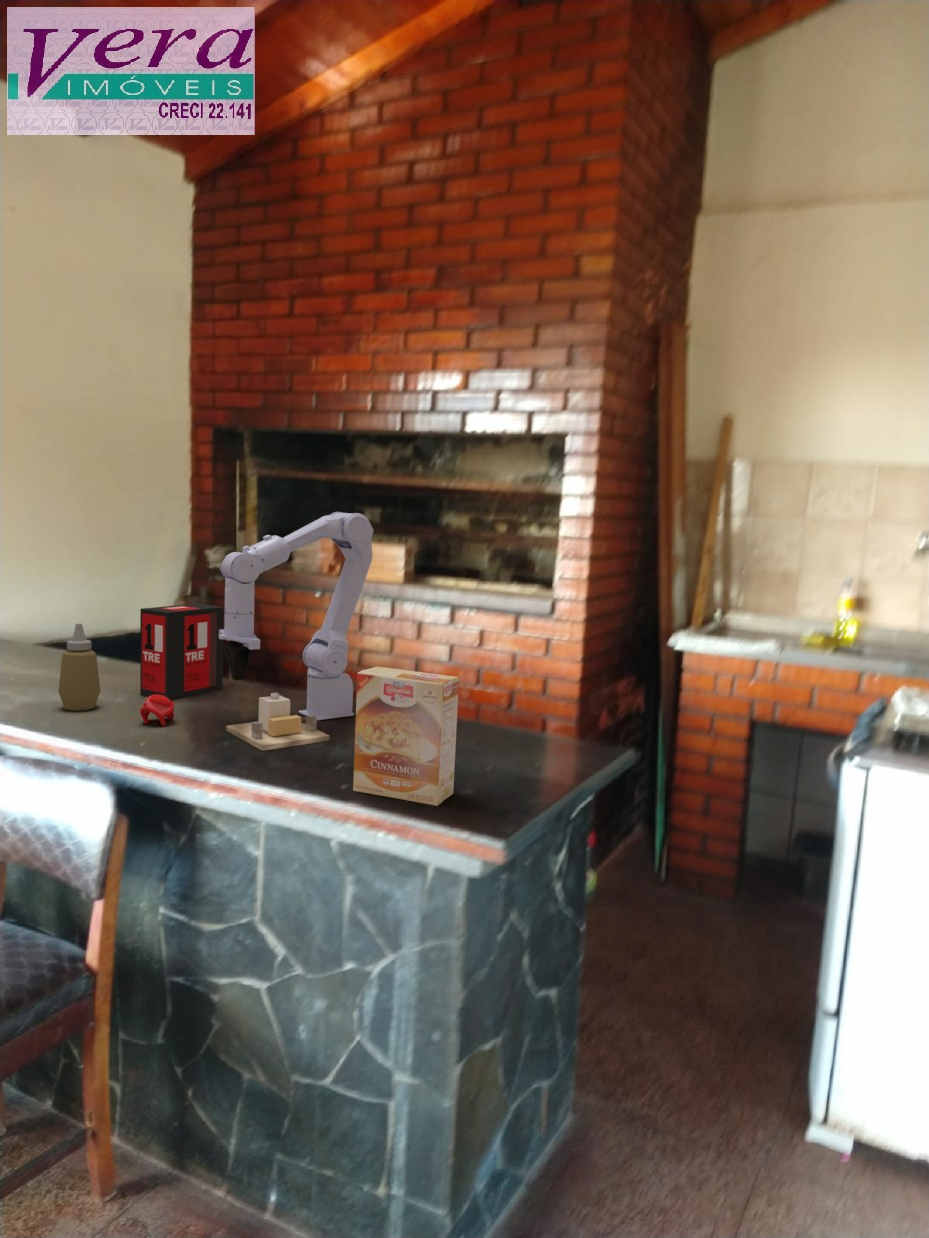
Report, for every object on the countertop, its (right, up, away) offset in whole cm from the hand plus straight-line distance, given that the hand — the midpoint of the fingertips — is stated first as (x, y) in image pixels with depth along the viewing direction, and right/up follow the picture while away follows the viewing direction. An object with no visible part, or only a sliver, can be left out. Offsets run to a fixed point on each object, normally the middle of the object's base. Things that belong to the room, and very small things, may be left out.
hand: (238, 679), depth 171 cm
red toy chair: (-16, -9, 0) cm, 18 cm away
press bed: (+9, -11, -5) cm, 15 cm away
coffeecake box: (+36, -16, -34) cm, 52 cm away
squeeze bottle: (-36, -7, +8) cm, 37 cm away
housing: (+8, -9, -4) cm, 13 cm away
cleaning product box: (-20, -5, +27) cm, 34 cm away
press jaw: (+11, -10, -8) cm, 17 cm away
